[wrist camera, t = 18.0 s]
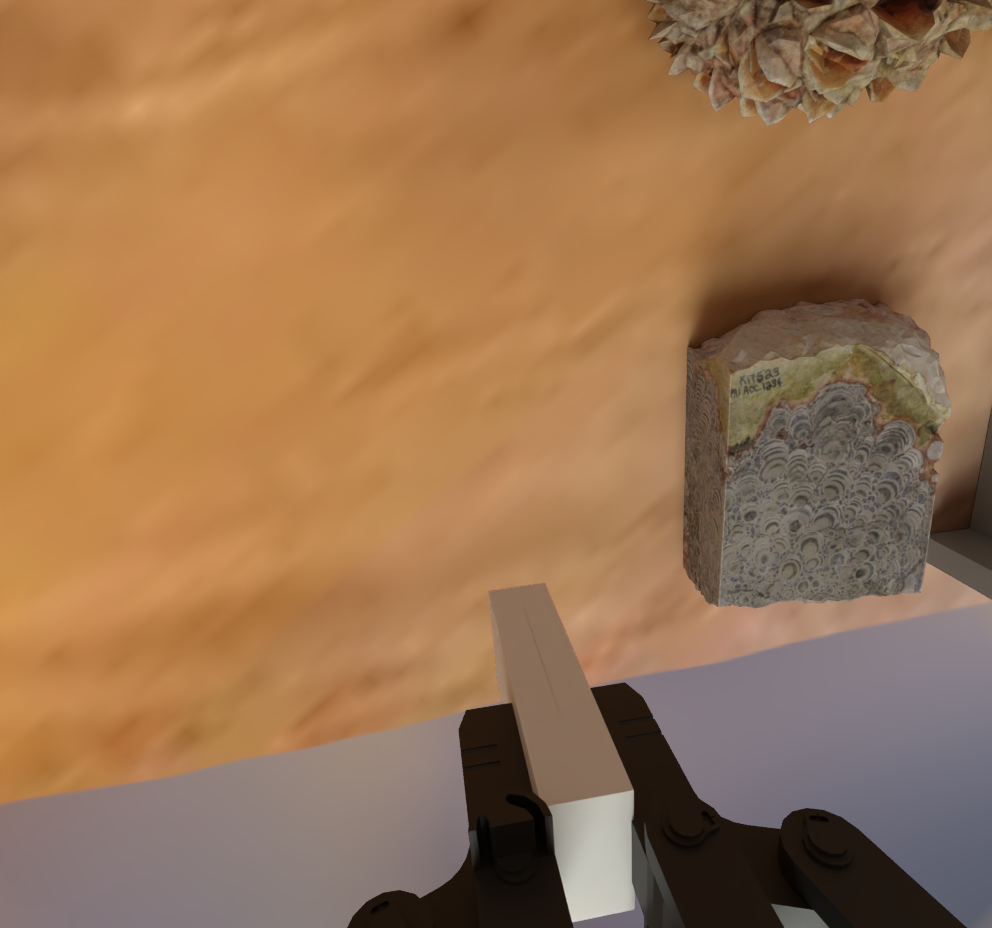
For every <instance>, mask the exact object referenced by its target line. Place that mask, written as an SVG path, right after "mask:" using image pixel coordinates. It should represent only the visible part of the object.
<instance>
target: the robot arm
mask: <svg viewBox="0 0 992 928" xmlns="http://www.w3.org/2000/svg"><path fill="white" fill-rule="evenodd" d="M489 601H490V611H491V621H492V632H493V642H494V652H495V663H496V673H497V680H498V685H499V689H500V694H501V699H502V703H503V704H501V705H496V706H489V707H483V708H477V709H471V710H466V712H465V715H464V717H463V720H462V722H461V725H460V727H459V738H460V748H461V757H462V766H463V776H464V785H465V794H466V803H467V813H468V822H469V830H468V834H469V841H470V847H469V851H468V854H467V857H466V860H465V861H464V863H463V865H462V867H461V868H460V870H459V871H458V872H457V873H456V874H455V875H454V876H453V878H452V879H451V880H449V881H448V882H446V883H445V884H444V885H442V886H441V887H439V888H438V889H436V890H434V891H433V892H431V893H429V894H427V895H426V896H424V897H422V898H419V897H418V896H417V895H415V894H413V893H409V892H405V891H401V890H398V891H391V892H385V893H382V894H380V895H378V896H376V897H374V898H373V899H371V900H369V901H367V902H366V903H365V904H364V905H363V906H362V907H361V908H360V909H359V910H358V911H357V913H355V915H354V916H353V917H352V919H351V921H350V923H349V926H348V927H347V928H573V924H572V922H576V921H581V920H586V919H590V918H595V917H600V916H605V915H610V914H615V913H619V912H624V911H628V910H634V889H635V892H636V894H637V898H638V900H639V903H640V906H641V909H642V912H643V914H644V928H967V927H965V926H964V925H963V924H962V923H961V922H960V921H959V920H958V919H957V918H956V917H954V916H953V915H952V914H951V913H950V912H949V911H948V910H947V909H946V908H945V907H943V906H942V905H941V904H940V903H939V902H938V901H937V900H936V899H934V898H933V897H932V896H931V895H930V894H929V893H928V892H927V891H926V890H925V889H924V888H922V887H921V886H920V885H919V884H918V883H917V882H916V881H915V880H914V879H913V878H911V877H910V876H909V875H908V874H907V873H906V872H905V871H904V870H903V869H901V868H900V867H899V866H898V865H897V864H896V863H895V862H894V861H893V860H892V859H890V858H889V857H888V856H887V855H886V854H885V853H884V852H883V851H882V850H881V849H879V848H878V847H877V846H876V845H875V844H874V843H873V842H872V841H871V840H870V839H868V838H867V837H866V836H865V835H864V834H863V833H862V832H861V831H860V830H859V829H857V828H856V827H854V826H853V825H852V824H850V823H849V822H847V821H846V820H844V819H843V818H842V817H840V816H837V815H835V814H832V813H830V812H827V811H825V810H818V809H809V808H805V809H801V810H797V811H793V812H791V813H790V814H789V815H788V816H787V817H786V818H785V819H784V820H783V822H782V826H781V829H775V828H767V827H759V826H750V825H744V824H740V823H735V822H732V821H730V820H727V819H725V818H722V817H721V816H720V815H719V814H718V813H717V812H716V811H715V809H714V808H712V807H711V806H709V805H708V804H706V803H705V802H703V801H701V800H700V799H699V798H698V797H697V795H696V794H695V792H694V791H693V789H692V787H691V785H690V784H689V782H688V780H687V778H686V776H685V774H684V773H683V771H682V769H681V767H680V765H679V763H678V761H677V759H676V758H675V756H674V754H673V752H672V750H671V749H670V746H669V745H668V743H667V741H666V739H665V738H664V736H663V735H662V734H661V730H660V728H659V726H658V724H657V723H656V721H655V719H653V715H652V713H651V712H650V710H649V708H648V706H647V704H646V702H645V700H644V699H643V697H642V696H641V695H640V694H638V693H637V692H636V691H635V690H633V689H632V688H631V687H630V686H629V685H627V684H626V683H619V684H613V685H607V686H601V687H594V688H590V687H589V685H588V682H587V680H586V678H585V675H584V673H583V671H582V668H581V666H580V664H579V661H578V659H577V657H576V654H575V652H574V650H573V647H572V645H571V643H570V640H569V638H568V636H567V633H566V631H565V629H564V626H563V624H562V622H561V619H560V617H559V615H558V612H557V610H556V608H555V605H554V603H553V601H552V598H551V596H550V594H549V591H548V589H547V587H546V584H545V583H541V584H534V585H527V586H520V587H513V588H506V589H499V590H492V591H489Z"/></svg>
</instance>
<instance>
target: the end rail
mask: <svg viewBox="0 0 992 928" xmlns="http://www.w3.org/2000/svg"><path fill="white" fill-rule="evenodd" d="M926 562H927V563H929V564H931V565H933V566H934V567H936V568H938V569H939V570H941V571H943V572H945V573H946V574H948V575H950V576H952V577H953V578H955V579H957V580H959V581H960V582H962V583H964V584H966V585H967V586H969V587H971V588H973V589H974V590H976V591H978V592H979V593H981V594H983V595H985V596H986V597H988V598H990V599H992V412H991V417H990V422H989V427H988V433H987V438H986V443H985V449H984V454H983V459H982V465H981V470H980V475H979V481H978V486H977V491H976V496H975V502H974V507H973V512H972V518H971V523H970V528H969V529H962V530H954V531H946V532H938V533H930V536H929V544H928V551H927V558H926Z"/></svg>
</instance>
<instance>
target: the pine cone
mask: <svg viewBox="0 0 992 928" xmlns="http://www.w3.org/2000/svg"><path fill="white" fill-rule="evenodd" d="M647 1H649V2H651V3H654V5H653V7H652V9H651V10H650V12H649V14H648V16H647V18H648V19H650V20H652V21H654V22H655V23H657V25H656V26H655V28H654V30H653V32H652V34H651V36H650V37H649V39H648V40H651V39H655V38H659V37H664V38H663V39H661V40H660V41H659V42H658V44H659V45H660V46H661V48H662V49H663V50H665V51H667V52H669V53H671V54H672V55H671V57H673V56H674V55H677V56H676V58H675V60H674V62H673V64H672V67H671V69H670V71H669V74H668V75H677V74H679V73H681V72H683V71H685V70H687V69H690V68H691V69H692V72H693V74H697V77H696V79H695V81H694V84H693V85H694V88H695V89H697V90H700V91H702V92H705V93H707V94H709V97H710V101H711V104H712V106H713V108H714V109H715V111H717V110H719V109H720V108H722V107H723V106H725V105H726V104H727V103H728V102H730V101H731V100H732V99H733V98H734V97H735V96H736V97H738V98H739V102H740V112H741V115H742V117H751V116H760V117H761V118H762V120H763V121H764V122H765V123H766V124H767V126H769V125H772V124H774V123H777V122H779V121H782V119H783V118H784V117H785V116H786V114H787V113H788V112H789V110H790V109H791V108H792V107H793V108H797V106H798V108H799V109H800V110H801V111H803V112H804V113H805V114H807V118H808V121H809V124H810V123H811V122H813V121H815V120H816V119H818V118H820V117H822V116H823V115H825V116H827V117H828V118H829V119H830V118H832V117H833V116H834V115H835V114H837V113H838V112H839V111H840V110H841V109H842V108H843V107H844V106H845V105H846V104H848V105H850V106H852V107H853V105H854V103H855V102H856V100H857V98H858V97H859V95H860V93H861V92H862V90H863V89H864V88H865V87H866V89H867V92H868V95H869V98H870V101H871V102H884V101H885V100H886V99H887V97H888V96H889V95H890V93H891V92H892V90H893V89H894V87H896V88H897V89H902V90H907V91H912V92H916V91H917V89H918V88H919V86H920V84H921V83H922V81H923V79H924V78H925V76H926V73H927V70H928V68H929V65H931V64H932V63H933V62H935V61H936V60H938V59H939V54H940V52H941V53H944V54H947V55H950V56H952V57H954V58H958V59H962V58H963V56H964V54H965V52H966V50H967V48H968V46H969V44H970V42H971V40H970V33H969V30H972V31H983V30H986V29H988V28H991V27H992V0H647ZM671 57H670V58H671Z"/></svg>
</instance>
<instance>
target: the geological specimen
mask: <svg viewBox="0 0 992 928" xmlns="http://www.w3.org/2000/svg"><path fill="white" fill-rule="evenodd" d="M950 415H951V403H950V400H949V397H948V394H947V392H946V388H945V377H944V371H943V370H942V368H941V366H940V365H939V354H938V353H937V352H935V351H934V350H932V349H931V348H930V338H929V336H928V334H927V332H926V331H924V330H922V329H921V328H919V327H918V326H917V325H916V323H915V322H914V320H913V319H912V318H911V317H909V316H905V315H903V314H899V313H896V312H894V311H893V310H891V308H890V307H889V306H887V305H886V304H885V303H882V302H879V303H877V304H876V305H871V304H869V302H868V301H866V300H865V299H856V298H853V299H850V300H849V301H846V300H840V299H839V300H837V301H835V302H827V303H823V304H814V303H808V302H805V301H799V302H797V303H795V304H794V305H793V307H791V308H786V309H783V310H775V309H767V310H763V311H760V312H758V313H756V314H755V315H754V316H753V318H752V319H751V320H750V321H749V322H747V323H744V324H740V325H739V326H737V327H736V328H735V329H733V330H731V331H729V332H728V333H726V334H724V335H722V336H721V337H719V338H717V339H716V338H710V339H708V340H706V341H704V342H703V343H702V344H701V346H700V348H698V349H696V348H691V347H688V352H687V389H686V432H685V491H684V536H683V555H684V568H685V570H686V572H687V575H688V577H689V579H690V580H691V581H692V582H693V583H694V584H695V588H696V590H697V591H701V594H702V595H704V597H705V599H706V601H707V602H708V603H709V604H710V605H711V604H714V605H716V606H717V607H724V606H730V605H735V606H738V607H741V606H747V607H750V608H759V607H764V606H767V605H769V604H774V603H776V602H778V601H781V602H789V601H799V602H802V603H812V602H813V603H818V604H821V603H824V602H826V601H831V602H838V601H844V602H847V601H851V600H853V599H857V598H861V597H864V596H869V595H874V596H889V595H897V594H901V593H906V594H911V593H920V592H921V591H922V585H923V578H924V572H925V564H926V558H927V551H928V544H929V536H930V529H931V522H932V513H933V505H934V499H935V494H936V488H937V483H938V476H939V474H938V473H937V472H936V471H935V470H934V463H935V462H937V461H939V459H940V456H941V453H942V450H943V443H944V442H943V440H942V439H941V438H940V436H939V432H940V428H941V426H942V424H943V423H944V422H945V421H946V420H947V419H948V418H949V417H950Z"/></svg>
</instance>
